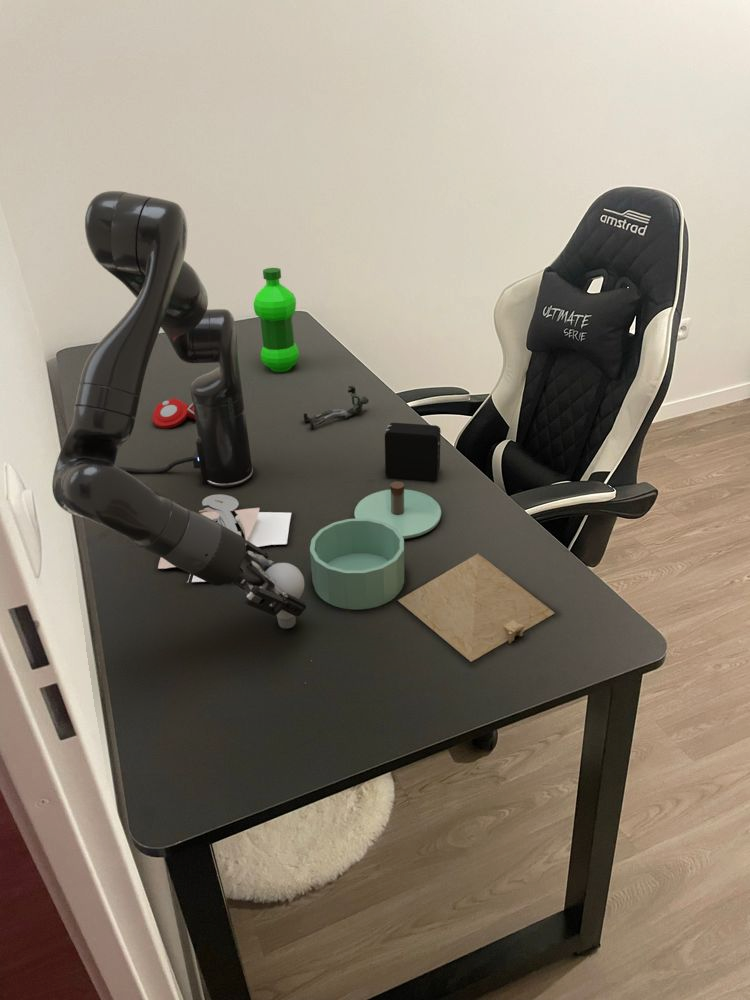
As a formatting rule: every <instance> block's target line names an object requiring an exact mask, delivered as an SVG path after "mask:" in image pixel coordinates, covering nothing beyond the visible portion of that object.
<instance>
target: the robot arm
mask: <svg viewBox="0 0 750 1000" xmlns="http://www.w3.org/2000/svg"><path fill="white" fill-rule="evenodd" d="M84 232H85V238H86V242H87V245H88V248H89V250H90V253H91V254H92V257H93V258H94V259H95V260H96V262H97V264H99V265H100V266H101V267H102V268H103V269H104V270H106V271H107V272H108V273H109V274H111V275H112V276H113V277H115V278H116V279H117V280H119V281H120V282H121V283H122V284H123V285H124V286H125V287H126V288H127V289H128V290H129V291H130V293H132V295H133V296H134V297H135V298H136V299H135V300H134V303H133V304H132V305H131V307H130V308H129V309H128V310H127V312H126V313H125V314H124V316H123V317H122V318H121V319H120V320H119V321H118V323H116V324H115V326H114V327H112V329H110V331H108V333H107V334H106V335H105V336H104V337H103V338H102V339H101V340H100V341H99V342H98V343H97V345H96V346H95V347H94V348H93V349H92V351H91V353H90V354H89V355H88V357H87V359H86V361H85V362H84V365H83V368H82V371H81V375H80V379H79V385H78V389H77V393H76V399H75V402H74V408H73V413H72V415H73V416H72V421H71V423H70V427H69V429H68V431H67V434H66V436H65V439H64V441H63V444H62V446H61V449H60V452H59V454H58V457H57V460H56V463H55V466H54V470H53V476H52V485H51V487H52V495H53V498H54V501H55V502H56V504H57V505H58V506H59V507H60V508H61V509H62V510H63V511H65V512H66V513H68V514H70V515H73V516H77V517H81V518H84V519H87V520H88V521H89V520H90V521H91V522H94V523H97V524H99V525H101V526H103V527H105V528H108V529H110V530H112V531H113V532H116V533H119V534H120V535H123V536H124V537H125V538H126V540H128V541H130V542H131V543H133V544H135V545H136V546H138V547H140V548H142V549H144V550H146V551H148V552H150V553H152V554H154V555H156V556H158V557H160V558H161V557H162V558H163V559H165V560H166V561H168V562H169V563H171V564H172V565H174V566H176V567H175V568H178V569H180V570H182V571H184V572H186V573H188V574H189V575H192V576H193V575H194V576H196V577H198V578H200V579H202V580H204V581H206V583H208V584H211V585H213V586H215V587H216V586H217V587H219V586H223V585H225V584H229V583H232V584H233V585H234V586H235V587H237V588H238V589H239V590H241V591H243V592H245V594H246V595H245V596H244V597H243V598H242V602H243V603H244V604H246V605H247V606H249V607H252V608H254V609H256V610H259V611H262V612H264V613H267V614H269V615H272V616H274V617H277V616H276V615H277V614H278V613H279V612H280V611H281V610H284V611H286V612H288V613H290V614H292V615H294V616H296V617H299V616H301V615H302V613H303V612H304V611H305V610H306V609H307V605H306V603H305V601H302V599H297V598H295V597H293V596H291V595H289V594H287V593H285V592H284V591H283V590H281V589H280V588H279V587H278V586H276V581H275V580H274V579H273V578H272V577H271V576H269V575H268V574H267V573H265V571H266V570H267V569H268V568H269V567H271V566H272V565H274V564H276V563H275V562H274V561H273V560H271V559H269V558H270V555H269V553H268V552H267V551H265V550H264V549H261V548H260V547H257V546H255V545H253V544H252V543H250V542H249V541H247V540H246V539H245V537H244V536H242V535H241V536H240V535H239V534H237V533H235V532H233V531H231V530H230V529H228V528H226V527H224V526H222V525H220V524H219V523H217V522H215V521H213V520H211V519H210V518H208V517H206V516H204V515H202V514H201V512H197V511H194V510H192V509H190V508H188V507H186V506H184V505H182V504H180V503H178V502H176V501H174V500H172V499H171V498H169V497H167V496H165V495H163V494H161V493H158V492H156V491H154V490H153V489H151V488H150V487H149V486H148V485H147V484H145V483H144V482H142V481H141V480H140V479H138V478H137V477H136V476H134V475H132V474H131V473H133V474H134V473H135V474H161V473H165V472H168V471H171V469H172V468H174V467H175V466H178V465H181V464H185V463H190V462H192V463H193V468H194V469H200V474H201V480H202V484H203V485H209V486H211V487H214V488H217V489H219V488H220V489H230V488H235V487H239V486H242V485H244V484H246V483H248V482H249V481H250V480H252V478H253V476H254V469H253V463H252V462H253V461H252V459H253V458H252V454H251V448H250V441H249V433H248V426H247V418H246V411H245V403H244V396H243V388H242V380H241V373H240V364H239V351H238V337H237V336H238V335H237V327H236V321H235V318H234V316H233V313H232V312H231V311H230V310H229V309H226V308H213V309H212V308H210V309H208V305H209V298H208V293H207V290H206V288H205V285H204V284H203V282H202V280H201V277H200V276H199V274H198V273H197V271H196V270H195V269H194V268H193V266H191V264H189V263H188V262H187V261H186V260H185V255H186V252H187V251H186V250H187V244H188V221H187V217H186V214H185V212H184V209H183V208H182V207H181V206H180V204H178V203H176V202H174V201H172V200H167V199H163V198H159V197H155V196H147V195H143V194H139V193H132V192H128V191H127V192H126V191H121V190H109V191H103V192H100V193H98V194H97V195H96V196H94V197H93V198H92V200H91V201H90V203H89V205H88V206H87V209H86V212H85V217H84ZM161 330H163V332H164V333H165V335H166V336H167V339H168V341H169V342H170V345H171V347H172V348H173V351H174V352H175V354H176V356H177V357H178V358H179V359H180V360H181V361H182V362H184V363H188V364H217V363H219V366H217V367H216V368H215V369H213V370H211V371H209V372H207V373H204V374H202V375H200V376H197V377H196V378H195V379H194V380H193V381H192V382H191V384H190V396H191V401H192V403H193V408H194V414H195V420H194V421H195V424H196V430H197V436H196V438H195V445H196V449H195V452H194V454H193V456H189V457H183V458H180V459H176V460H174V461H172V462H170V463H169V464H168V465H167V466H165V467H161V468H160V467H159V468H150V469H149V468H147V469H146V468H135V467H124V466H119V465H116V462H117V459H118V455H119V451H120V450H121V446H122V445H123V444H124V443H126V442H127V441H128V440H129V438H130V437H131V436H132V434H133V430H134V426H135V423H136V418H137V413H138V407H139V404H140V398H141V395H142V388H143V383H144V379H145V375H146V371H147V368H148V365H149V362H150V361H149V360H150V358H151V356H152V352H153V349H154V347H155V344H156V341H157V339H158V335H159V333H160V331H161ZM265 581H266V582H267V583H268V585H267V586H266V587H265V588H264V589H263V587H261V586H262V585H263V584H264V583H265ZM270 591H274V592H275V593H276V594H274V593H272V592H270ZM277 594H278V595H277Z"/></svg>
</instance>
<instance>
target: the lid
mask: <svg viewBox="0 0 750 1000" xmlns="http://www.w3.org/2000/svg"><path fill="white" fill-rule="evenodd" d="M353 512H354V519H366V518H369V519H373V520H377V521H382V522H385V523H387V524H389V525H390V526H392V527H394V528H396V529H397V530H398V531H399V533H400V534H401V535H402V537H403V538H404V540H406V539H411V538H416V537H419V536H422V535H425V534H427V533H429V532H430V531H432V530H434V529H435V528H436V527H437V526H438V524H439V523H440V521H441V518H442V509H441V505H440V504H439V503H438V502H437V501H436V500H435V498H433V497H432V496H430V495H428V494H427V493H423V492H421V491H417V490H413V489H405V483H404V482H402V481H397V480H396V481H393V482H391V483H390V489H384V490H379V491H376V492H373V493H371V494H369V495H367V496H365V497H364V498H362V499H360V501H359V502H358V503H357V505H355V508H354V511H353Z"/></svg>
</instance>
